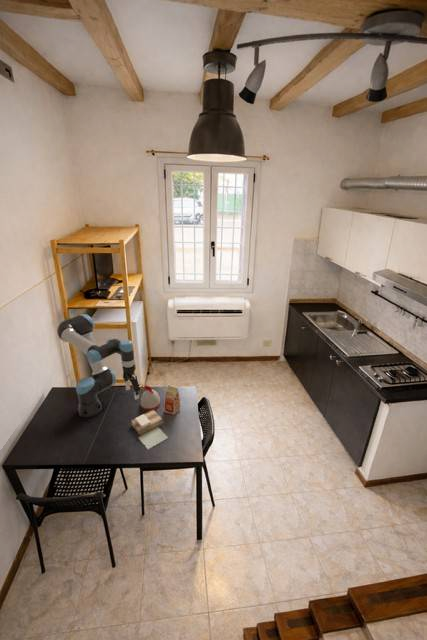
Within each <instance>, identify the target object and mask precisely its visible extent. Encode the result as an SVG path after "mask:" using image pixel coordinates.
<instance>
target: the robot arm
mask: <svg viewBox="0 0 427 640" xmlns="http://www.w3.org/2000/svg"><path fill="white" fill-rule="evenodd" d="M94 328H95V322H94V320H93V318H92V317H91V316H89V315H88V314H86V313H83V314H79V315H76V316H73V317H70V318H68V319H65V320H63V321H61V322H60V323H59V324H58V326H57V331H56V333H57V336H58V338H59V339H60V340H61V341H62V342H63V343H64V342H65V343H69V344H70V345H72V346H73V347H75V348H76V349H77V350H79V351H81V352H82V353H84V354H85V356H86V359H87V360H88V363H89V366H90V367H91V370H92V373H91V376H87V377H83V378H81V379H79V380H78V381H77V383H76V385H75V389H76V390H75V391H76V395H77V399H78V408H77V411H78V415H79V417H81V418H91V417H94V416H96V415H98V414H100V412H101V411H102V409H103V406H102V403H101V401H100V400H99V398H98V395H99V394H100V393H103V391H105V390H107V389H109V388H111V387H112V386H114V385H115V384H116V381H117V379H116V378H117V377H116V374H115V372H114V370H113V369H111V368H109V367H108V366H106V364H105V362H104V359H106V358H108V357H110V356H113V355H114V354H118V355H120V359H121V364H122V378H123V380H124V385H125V390H126V391H129V390H131V385H132V388H133V395H134V400H139V398H140V393H139V391H141V388H140V384H139V381H138V376H137V375H135V370H136V360H135V351H134V345H133V341H132V340H130V339H124V340H119V339H118V338H115V337H111V338H109V339H108V340H107V341H106V343H105V344H102V345H100V346H99V345H97V342H96V340H95V337H94V335H93V334H94V330H93V329H94Z"/></svg>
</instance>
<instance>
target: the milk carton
mask: <svg viewBox="0 0 427 640" xmlns="http://www.w3.org/2000/svg"><path fill="white" fill-rule="evenodd" d="M163 405H164V406H163V412H164V413H167V414H171V415H175V414H177V413H178V412H179V411H180V409H181V400H180V393H179V388H178V387H177V386H173V385H171V384H167V388H166V390H165V395H164V404H163Z"/></svg>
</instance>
